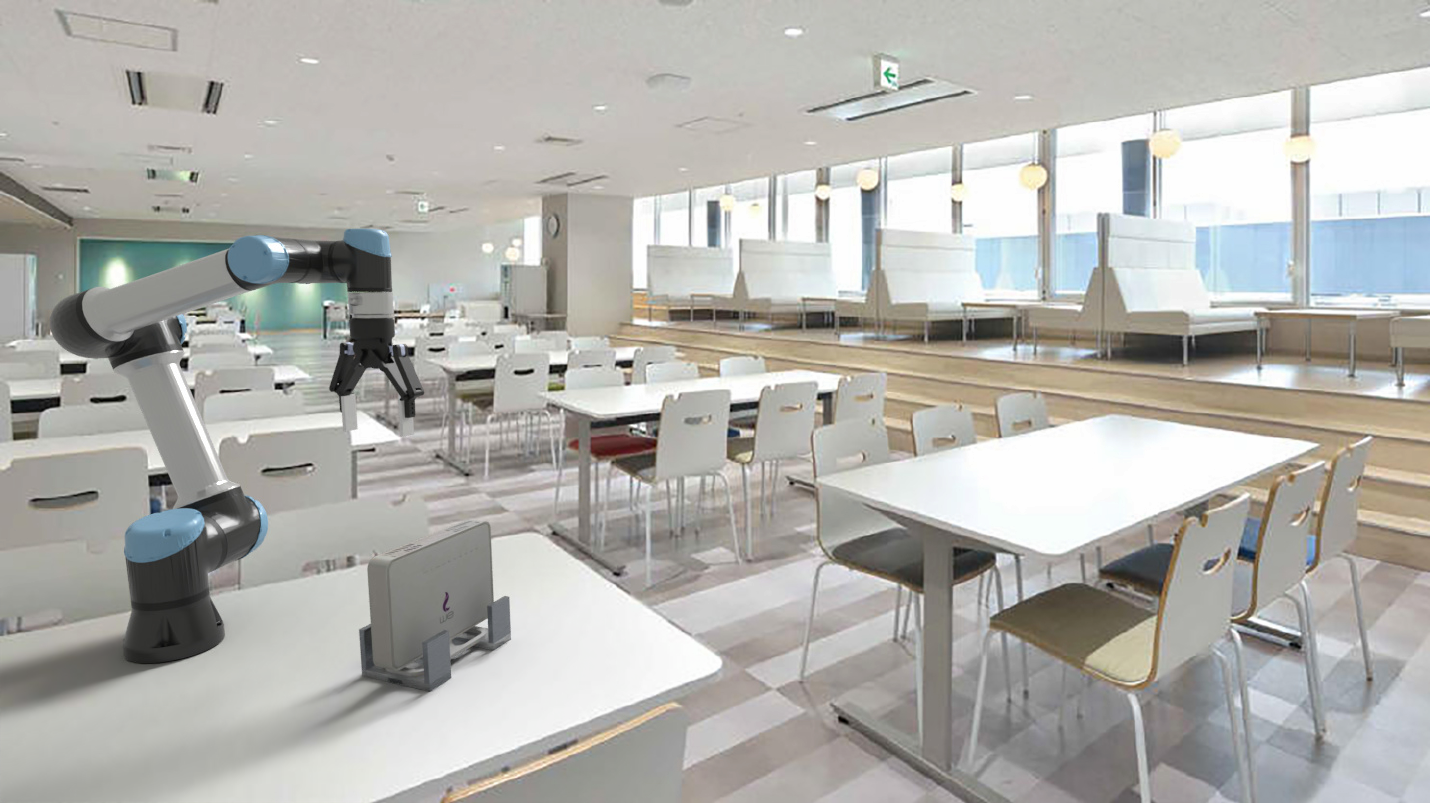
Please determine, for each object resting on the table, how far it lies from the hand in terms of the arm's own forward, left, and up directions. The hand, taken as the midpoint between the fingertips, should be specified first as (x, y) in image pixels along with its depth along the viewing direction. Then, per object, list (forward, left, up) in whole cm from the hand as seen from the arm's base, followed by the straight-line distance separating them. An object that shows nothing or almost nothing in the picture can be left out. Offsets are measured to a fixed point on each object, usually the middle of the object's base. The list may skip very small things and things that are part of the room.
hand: (378, 433), depth 151 cm
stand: (+19, -8, -37) cm, 42 cm away
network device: (+19, -8, -36) cm, 41 cm away
